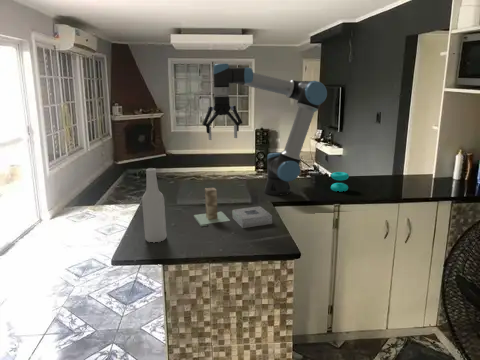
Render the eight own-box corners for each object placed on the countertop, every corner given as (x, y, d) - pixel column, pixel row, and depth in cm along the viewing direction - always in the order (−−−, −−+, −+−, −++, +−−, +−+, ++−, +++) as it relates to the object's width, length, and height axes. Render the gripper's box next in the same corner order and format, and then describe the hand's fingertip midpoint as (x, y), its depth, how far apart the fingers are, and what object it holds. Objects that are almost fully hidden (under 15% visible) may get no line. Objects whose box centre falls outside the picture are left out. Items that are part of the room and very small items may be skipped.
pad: (221, 213, 199) (221, 211, 199) (230, 222, 186) (230, 220, 186) (193, 217, 194) (193, 215, 194) (200, 226, 182) (200, 224, 181)
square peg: (215, 215, 193) (213, 187, 189) (217, 218, 189) (216, 189, 185) (206, 216, 191) (204, 188, 188) (208, 219, 187) (207, 190, 184)
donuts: (329, 171, 238) (346, 171, 238) (329, 187, 241) (345, 187, 241) (333, 175, 229) (350, 175, 228) (332, 192, 231) (349, 192, 231)
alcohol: (168, 234, 173) (163, 166, 166) (165, 242, 164) (160, 171, 157) (147, 235, 173) (141, 166, 165) (143, 243, 164) (137, 171, 157)
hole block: (260, 216, 194) (260, 206, 193) (272, 225, 181) (272, 215, 180) (232, 219, 189) (232, 209, 188) (242, 230, 177) (242, 219, 175)
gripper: (199, 97, 192) (200, 141, 198) (248, 95, 200) (248, 138, 206) (195, 96, 199) (197, 139, 205) (242, 95, 207) (243, 136, 212)
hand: (223, 138), depth 205 cm, fingers open, 13 cm apart
